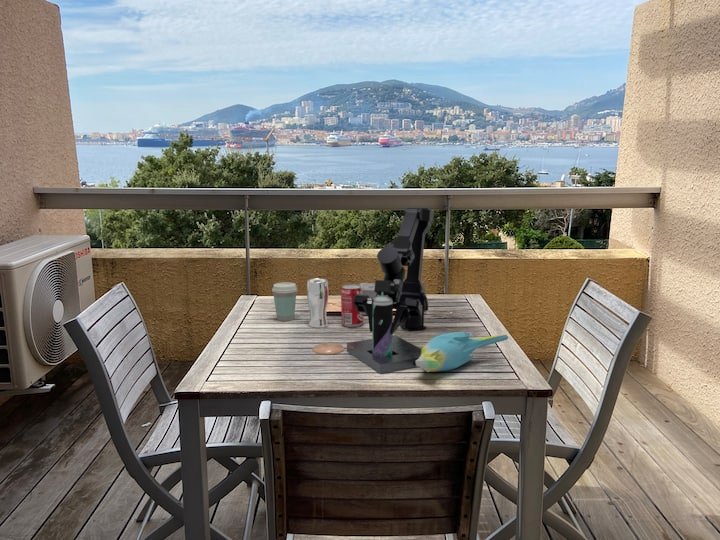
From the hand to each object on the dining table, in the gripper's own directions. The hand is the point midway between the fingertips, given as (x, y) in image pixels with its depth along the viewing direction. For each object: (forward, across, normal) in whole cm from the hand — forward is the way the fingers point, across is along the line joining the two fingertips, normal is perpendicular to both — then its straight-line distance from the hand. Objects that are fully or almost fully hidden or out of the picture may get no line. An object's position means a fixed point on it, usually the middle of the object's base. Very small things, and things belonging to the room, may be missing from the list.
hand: (380, 332), depth 164 cm
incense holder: (-26, -18, +39) cm, 50 cm away
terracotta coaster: (+2, -18, +10) cm, 21 cm away
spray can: (+5, 0, +7) cm, 9 cm away
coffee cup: (-16, -44, +28) cm, 54 cm away
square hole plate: (+3, +1, +10) cm, 10 cm away
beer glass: (-13, -30, +26) cm, 42 cm away
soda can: (-16, -20, +28) cm, 38 cm away
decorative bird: (+6, +22, +6) cm, 24 cm away
